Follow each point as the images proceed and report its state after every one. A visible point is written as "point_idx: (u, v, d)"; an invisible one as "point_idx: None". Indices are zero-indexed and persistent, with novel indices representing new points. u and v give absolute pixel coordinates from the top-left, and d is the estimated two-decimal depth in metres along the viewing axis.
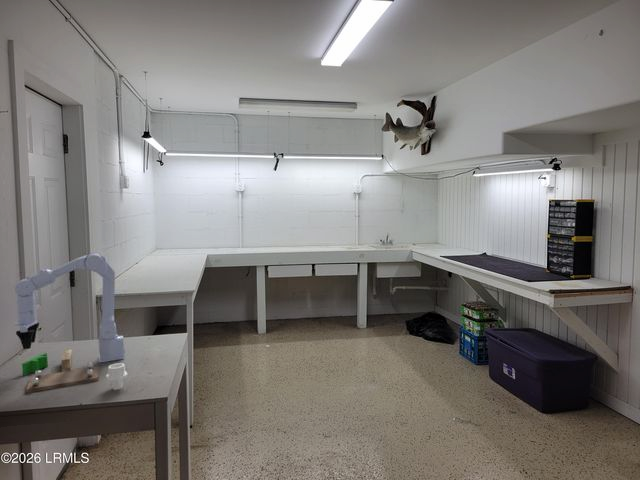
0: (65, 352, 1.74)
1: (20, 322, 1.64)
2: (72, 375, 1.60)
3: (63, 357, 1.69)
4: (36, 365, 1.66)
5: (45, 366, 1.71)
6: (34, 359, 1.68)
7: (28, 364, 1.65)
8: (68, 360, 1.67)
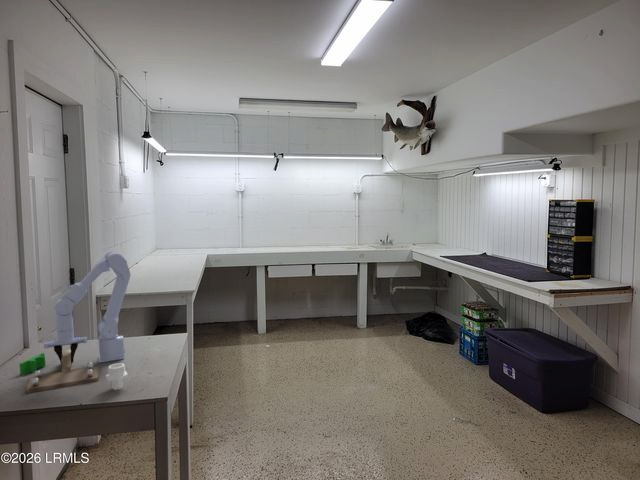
0: (65, 352, 1.74)
1: None
2: (72, 375, 1.60)
3: (63, 357, 1.68)
4: (34, 364, 1.67)
5: (43, 366, 1.71)
6: (32, 359, 1.68)
7: (25, 364, 1.65)
8: (68, 360, 1.67)
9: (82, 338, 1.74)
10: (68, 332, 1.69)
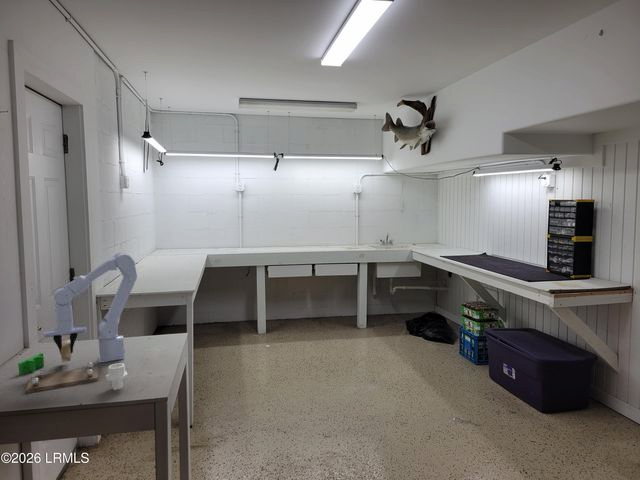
0: (64, 342, 1.74)
1: None
2: (72, 375, 1.60)
3: (63, 347, 1.68)
4: (32, 364, 1.67)
5: (41, 366, 1.71)
6: (30, 359, 1.68)
7: (24, 364, 1.66)
8: (68, 349, 1.66)
9: (81, 328, 1.73)
10: (67, 322, 1.69)
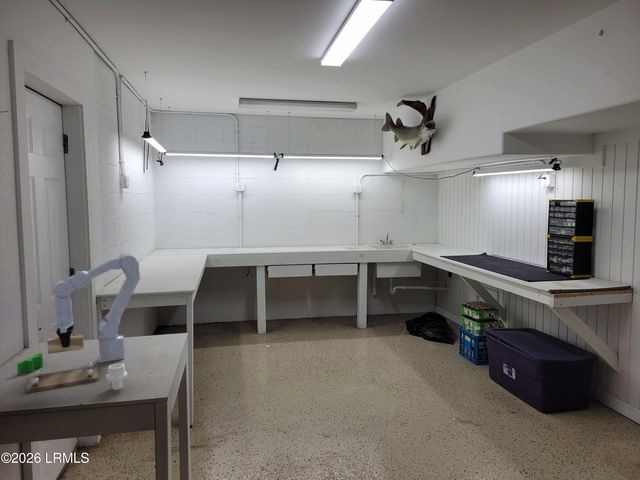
0: (56, 339, 1.69)
1: (58, 323, 1.67)
2: (72, 375, 1.60)
3: (74, 337, 1.71)
4: (31, 364, 1.67)
5: (40, 366, 1.71)
6: (29, 359, 1.68)
7: (23, 364, 1.66)
8: None
9: None
10: None
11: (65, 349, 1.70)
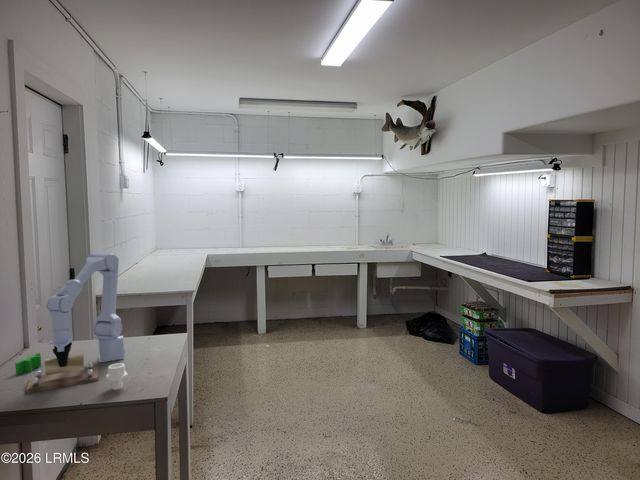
0: (54, 359, 1.56)
1: (55, 341, 1.54)
2: (72, 375, 1.60)
3: (73, 357, 1.59)
4: (29, 364, 1.67)
5: (38, 366, 1.71)
6: (27, 359, 1.68)
7: (21, 363, 1.66)
8: (83, 355, 1.62)
9: None
10: None
11: (64, 370, 1.57)
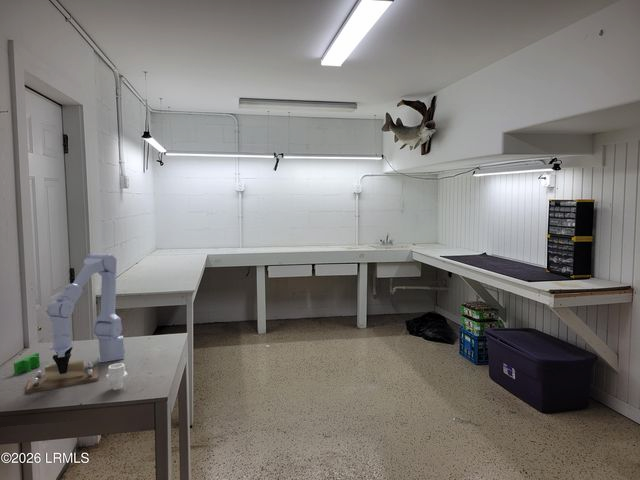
0: (54, 365, 1.56)
1: (56, 346, 1.55)
2: None
3: (74, 363, 1.59)
4: (28, 364, 1.67)
5: (37, 366, 1.71)
6: (26, 359, 1.68)
7: (20, 363, 1.66)
8: (83, 361, 1.62)
9: None
10: None
11: (64, 376, 1.57)
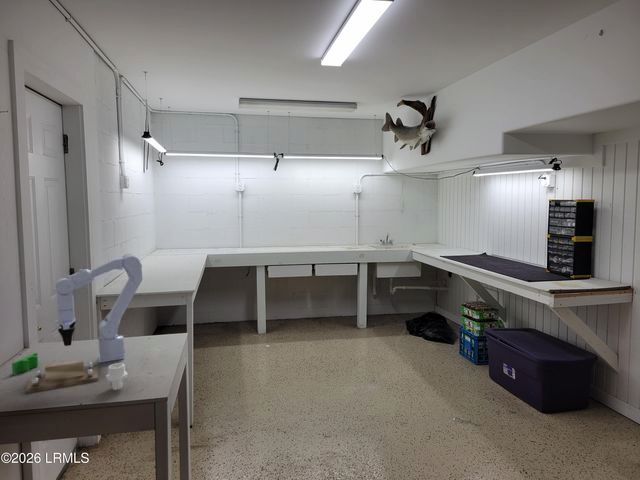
0: (54, 365, 1.56)
1: (61, 320, 1.68)
2: None
3: (74, 363, 1.59)
4: (26, 364, 1.67)
5: (35, 366, 1.72)
6: (24, 359, 1.68)
7: (18, 363, 1.66)
8: (83, 361, 1.62)
9: None
10: None
11: (64, 376, 1.57)
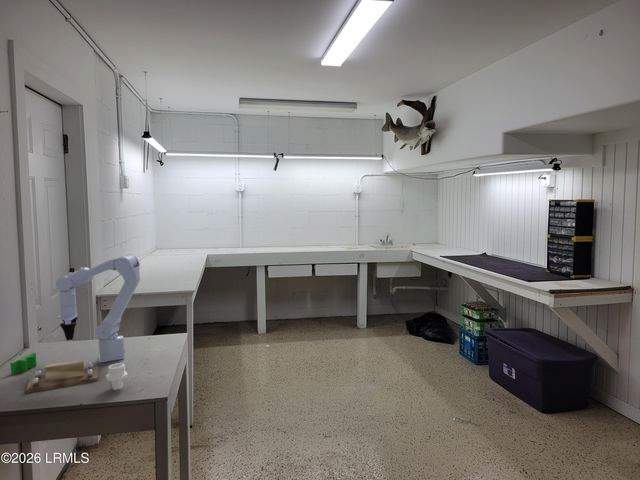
0: (54, 365, 1.56)
1: (63, 315, 1.75)
2: None
3: (74, 363, 1.59)
4: (25, 364, 1.67)
5: (34, 366, 1.72)
6: (23, 359, 1.69)
7: (16, 363, 1.66)
8: (83, 361, 1.62)
9: None
10: None
11: (64, 376, 1.57)
